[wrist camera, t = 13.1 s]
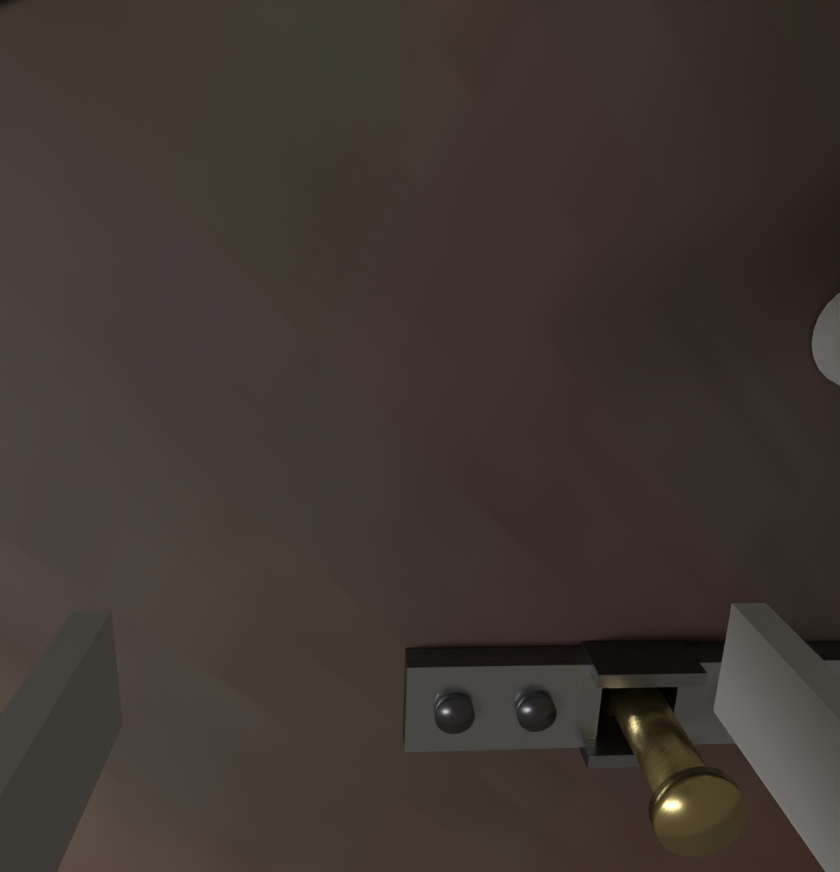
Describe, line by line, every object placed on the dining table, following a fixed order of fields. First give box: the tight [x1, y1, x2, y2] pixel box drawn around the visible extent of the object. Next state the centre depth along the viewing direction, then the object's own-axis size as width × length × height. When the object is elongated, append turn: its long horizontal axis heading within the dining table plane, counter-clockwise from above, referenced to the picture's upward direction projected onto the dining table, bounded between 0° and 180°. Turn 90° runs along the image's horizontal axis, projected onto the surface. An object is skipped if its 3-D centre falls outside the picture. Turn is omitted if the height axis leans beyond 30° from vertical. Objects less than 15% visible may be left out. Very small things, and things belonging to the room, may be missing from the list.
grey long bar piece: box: [403, 640, 840, 768], centre depth 47 cm, size 29×7×4 cm, turn 88°
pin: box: [604, 687, 748, 857], centre depth 43 cm, size 5×5×11 cm
